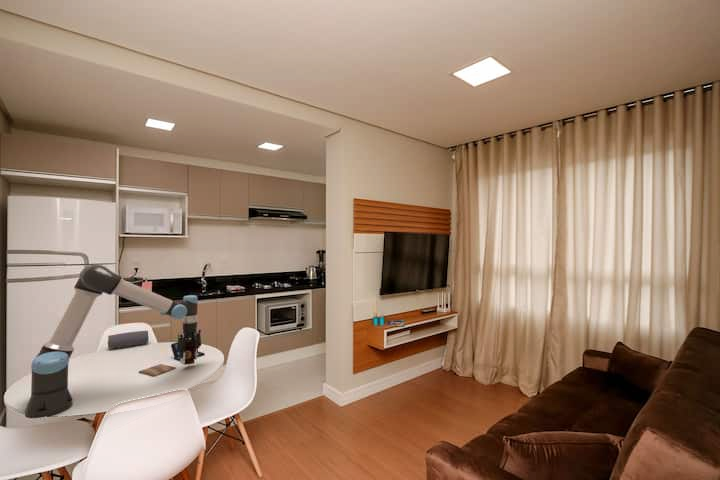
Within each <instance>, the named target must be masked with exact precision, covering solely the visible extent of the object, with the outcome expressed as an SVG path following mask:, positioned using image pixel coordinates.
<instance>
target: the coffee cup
mask: <svg viewBox="0 0 720 480" xmlns="http://www.w3.org/2000/svg"><path fill="white" fill-rule="evenodd" d="M197 344H198V343H197V342H196V340H195V341H194V340H188V341H187V343H186V344H185V350H184V352H185V364H183V365H185V366H188V365H194V364H195V363H196V362H195V356H196V347H197Z"/></svg>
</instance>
